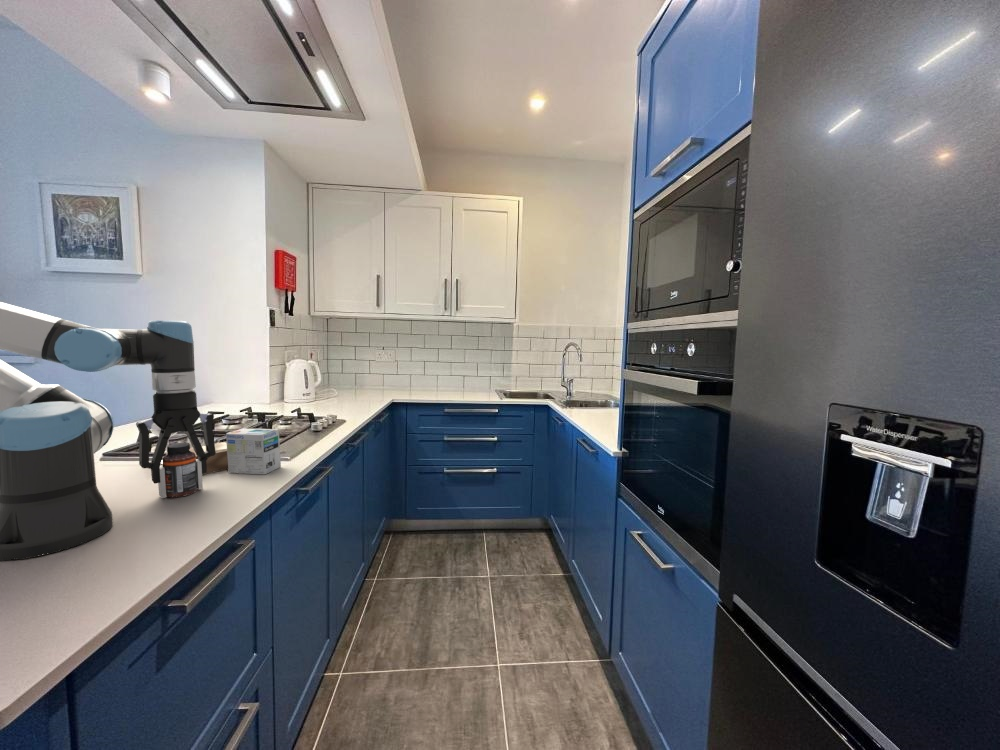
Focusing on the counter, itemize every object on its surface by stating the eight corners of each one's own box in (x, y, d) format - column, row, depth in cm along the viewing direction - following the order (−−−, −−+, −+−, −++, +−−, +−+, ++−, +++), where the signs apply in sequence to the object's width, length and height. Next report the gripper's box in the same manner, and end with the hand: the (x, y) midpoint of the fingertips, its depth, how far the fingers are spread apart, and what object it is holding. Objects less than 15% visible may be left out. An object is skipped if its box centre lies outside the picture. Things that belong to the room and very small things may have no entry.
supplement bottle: (159, 495, 91) (155, 445, 90) (189, 486, 96) (186, 440, 95) (172, 500, 88) (169, 449, 87) (203, 491, 93) (200, 443, 92)
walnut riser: (196, 475, 104) (194, 455, 103) (183, 466, 111) (182, 447, 110) (244, 465, 112) (243, 447, 112) (230, 457, 119) (229, 440, 119)
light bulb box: (281, 467, 111) (280, 428, 110) (265, 475, 105) (263, 434, 104) (245, 465, 112) (243, 427, 111) (226, 473, 106) (224, 433, 105)
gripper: (120, 397, 80) (128, 509, 82) (229, 388, 95) (234, 484, 97) (113, 393, 85) (121, 500, 87) (219, 385, 100) (224, 477, 102)
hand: (181, 491), depth 92 cm, fingers closed on supplement bottle, 6 cm apart
